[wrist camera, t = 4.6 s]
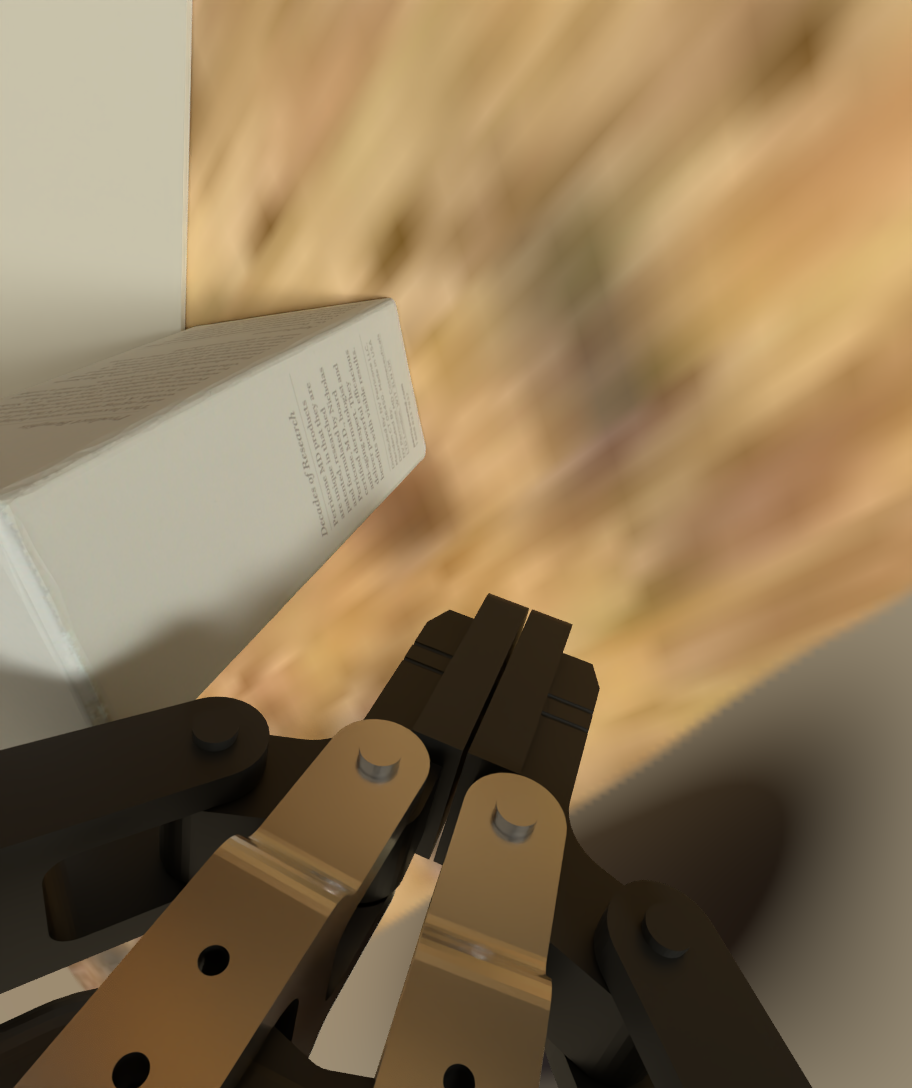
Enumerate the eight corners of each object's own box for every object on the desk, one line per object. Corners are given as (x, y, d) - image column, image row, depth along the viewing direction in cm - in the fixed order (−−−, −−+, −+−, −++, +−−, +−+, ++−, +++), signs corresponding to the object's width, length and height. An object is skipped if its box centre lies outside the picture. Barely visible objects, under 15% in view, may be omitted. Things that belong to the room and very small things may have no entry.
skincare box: (244, 471, 22) (-170, 752, 12) (197, 322, 20) (-334, 507, 10) (437, 459, 20) (124, 792, 10) (403, 291, 18) (-19, 489, 8)
